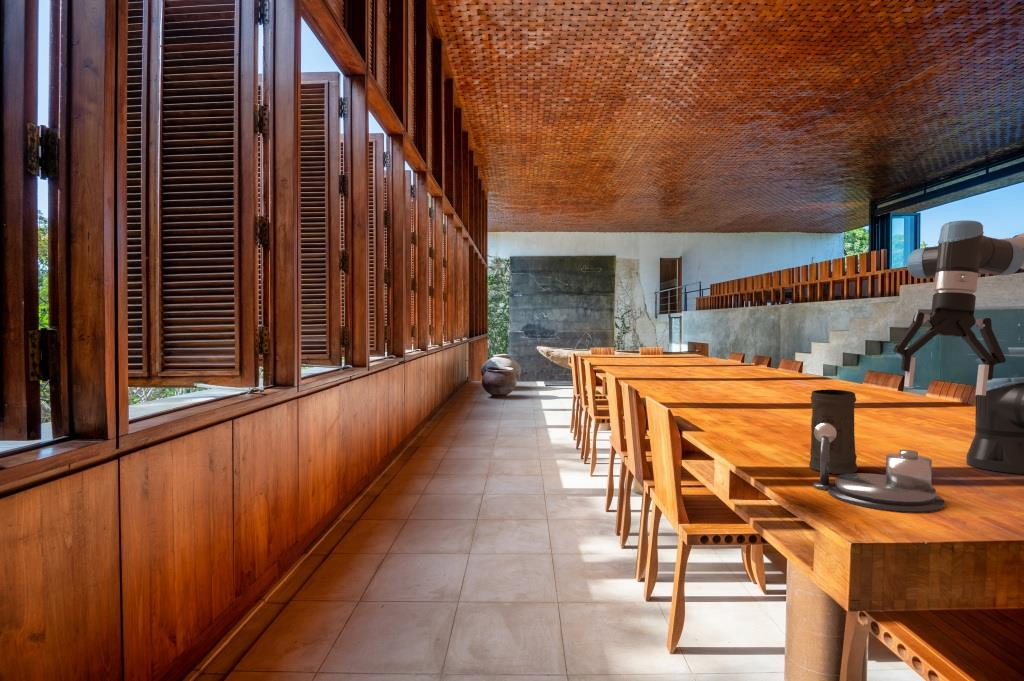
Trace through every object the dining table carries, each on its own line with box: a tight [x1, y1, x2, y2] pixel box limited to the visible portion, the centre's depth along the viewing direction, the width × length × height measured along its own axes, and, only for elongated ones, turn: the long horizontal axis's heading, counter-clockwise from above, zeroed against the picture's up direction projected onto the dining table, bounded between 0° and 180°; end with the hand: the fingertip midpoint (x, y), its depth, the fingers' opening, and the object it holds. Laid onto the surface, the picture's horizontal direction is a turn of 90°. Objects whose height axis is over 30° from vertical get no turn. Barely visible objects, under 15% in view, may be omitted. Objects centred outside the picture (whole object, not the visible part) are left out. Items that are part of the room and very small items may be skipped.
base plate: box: [827, 482, 946, 513], centre depth 127 cm, size 21×21×1 cm
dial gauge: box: [813, 423, 837, 492], centre depth 134 cm, size 4×4×15 cm
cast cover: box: [885, 449, 933, 489], centre depth 127 cm, size 8×8×7 cm
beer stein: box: [808, 388, 858, 475], centre depth 153 cm, size 15×11×20 cm
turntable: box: [834, 472, 937, 506], centre depth 128 cm, size 22×18×6 cm
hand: (943, 391), depth 130 cm, fingers open, 13 cm apart
